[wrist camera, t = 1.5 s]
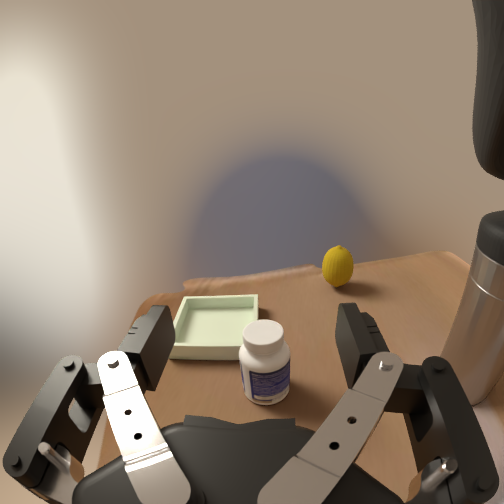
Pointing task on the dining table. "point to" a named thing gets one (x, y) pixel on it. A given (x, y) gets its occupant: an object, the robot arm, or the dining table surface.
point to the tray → (212, 326)
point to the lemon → (337, 266)
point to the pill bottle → (265, 362)
